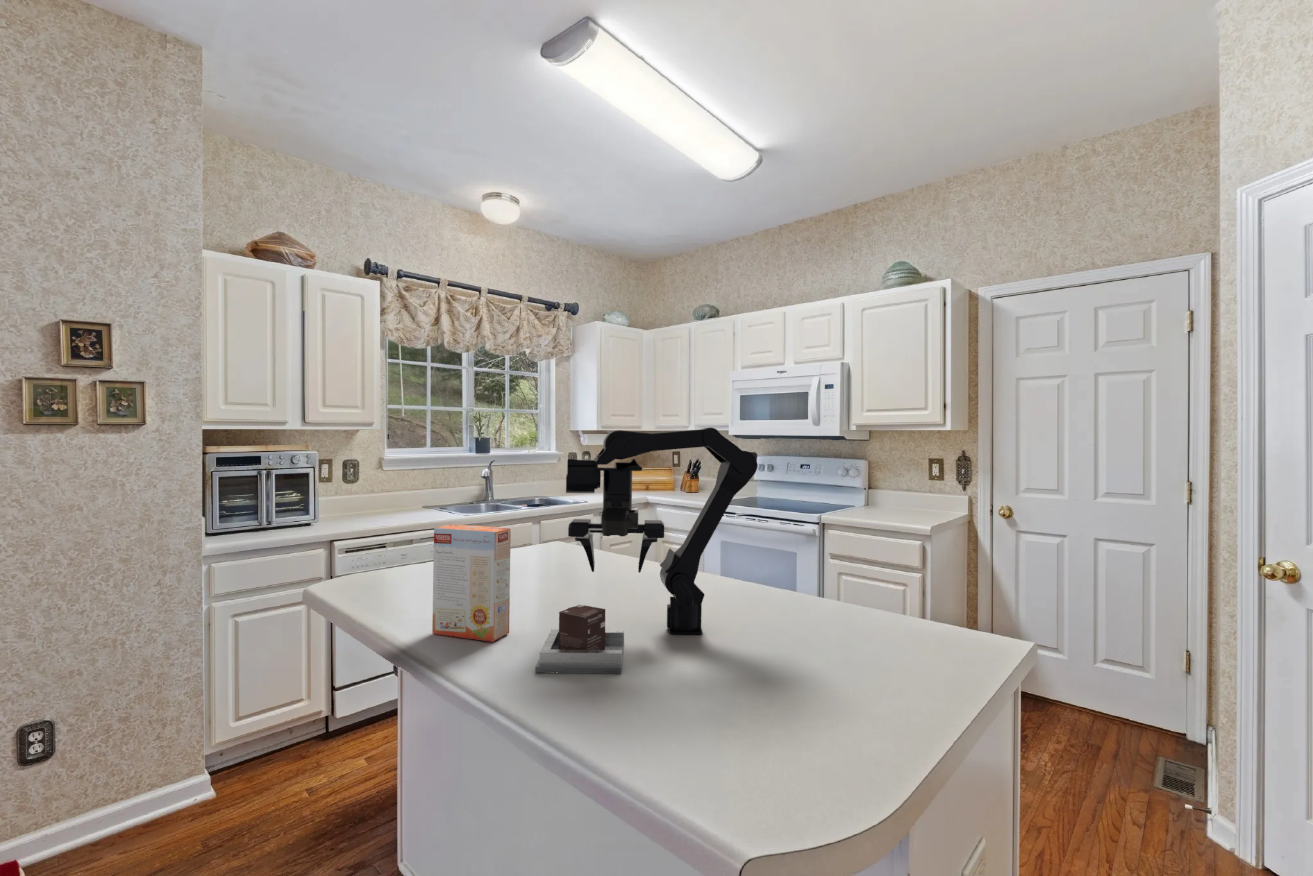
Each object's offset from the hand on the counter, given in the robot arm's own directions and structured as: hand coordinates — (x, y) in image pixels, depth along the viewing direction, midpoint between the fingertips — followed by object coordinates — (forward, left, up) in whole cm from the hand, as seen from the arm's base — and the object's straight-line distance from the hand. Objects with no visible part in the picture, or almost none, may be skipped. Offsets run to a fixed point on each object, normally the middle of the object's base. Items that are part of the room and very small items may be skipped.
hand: (616, 571), depth 119 cm
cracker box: (+28, +2, -12) cm, 31 cm away
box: (+5, +14, -11) cm, 19 cm away
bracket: (+5, +14, -12) cm, 19 cm away
